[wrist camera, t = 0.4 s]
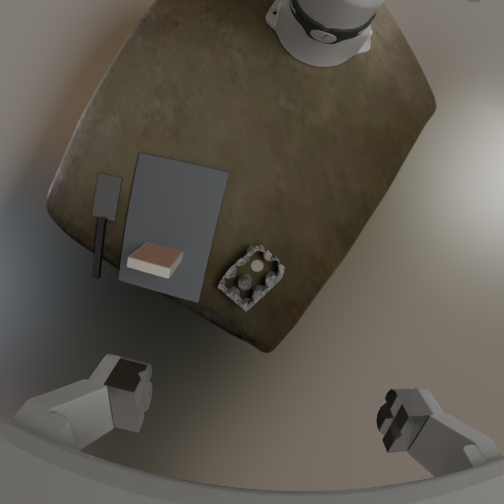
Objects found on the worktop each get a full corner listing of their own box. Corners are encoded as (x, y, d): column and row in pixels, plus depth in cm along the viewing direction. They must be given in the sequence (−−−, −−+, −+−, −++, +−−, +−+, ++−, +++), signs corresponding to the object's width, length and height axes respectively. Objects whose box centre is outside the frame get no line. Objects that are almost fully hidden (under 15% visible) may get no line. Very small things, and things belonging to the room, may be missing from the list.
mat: (140, 152, 52) (139, 152, 51) (229, 172, 53) (229, 172, 52) (119, 278, 58) (118, 279, 58) (198, 301, 59) (198, 302, 59)
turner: (99, 172, 53) (96, 173, 52) (122, 177, 53) (120, 178, 52) (87, 272, 58) (84, 274, 57) (108, 279, 59) (106, 281, 58)
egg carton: (256, 237, 56) (256, 242, 52) (287, 265, 57) (289, 273, 53) (215, 279, 58) (212, 287, 54) (246, 305, 59) (245, 315, 56)
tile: (146, 242, 56) (128, 256, 47) (183, 251, 56) (170, 268, 47) (145, 250, 56) (126, 266, 47) (181, 260, 56) (168, 278, 48)
